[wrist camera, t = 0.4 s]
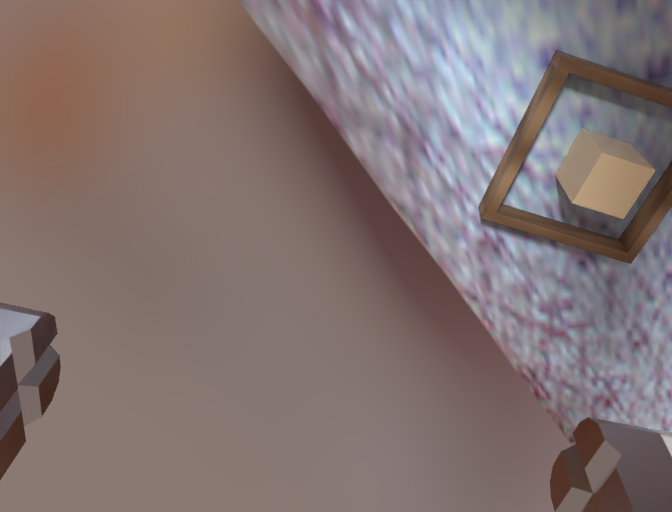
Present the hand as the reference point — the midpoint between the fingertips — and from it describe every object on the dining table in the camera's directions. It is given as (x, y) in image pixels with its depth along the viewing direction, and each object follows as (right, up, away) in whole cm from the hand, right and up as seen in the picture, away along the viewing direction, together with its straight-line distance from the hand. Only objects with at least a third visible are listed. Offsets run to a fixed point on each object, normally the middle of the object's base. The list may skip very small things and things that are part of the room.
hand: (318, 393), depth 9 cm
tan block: (+25, +11, +46) cm, 53 cm away
